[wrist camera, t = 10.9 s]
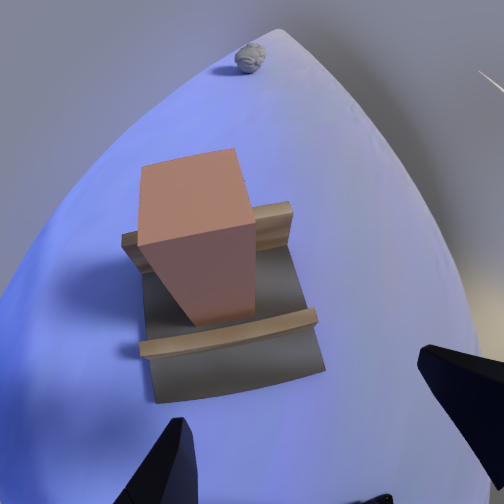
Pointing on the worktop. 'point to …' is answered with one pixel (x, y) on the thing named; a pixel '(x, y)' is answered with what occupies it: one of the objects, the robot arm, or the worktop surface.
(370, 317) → the worktop surface
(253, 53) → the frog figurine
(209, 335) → the cleat board
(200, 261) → the cabinet block
